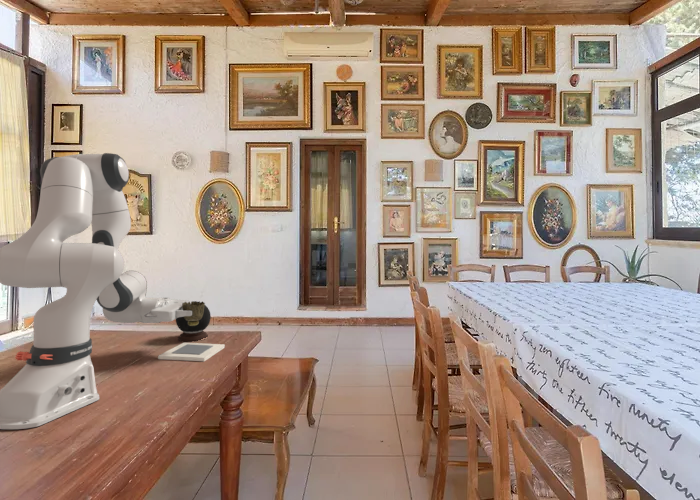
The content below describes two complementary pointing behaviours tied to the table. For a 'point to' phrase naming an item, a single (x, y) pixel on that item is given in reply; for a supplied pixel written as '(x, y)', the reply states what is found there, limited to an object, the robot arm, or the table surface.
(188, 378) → the table surface
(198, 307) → the cup
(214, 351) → the tile plinth
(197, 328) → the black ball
